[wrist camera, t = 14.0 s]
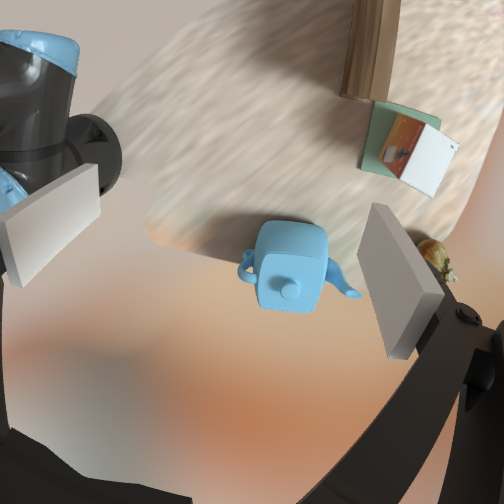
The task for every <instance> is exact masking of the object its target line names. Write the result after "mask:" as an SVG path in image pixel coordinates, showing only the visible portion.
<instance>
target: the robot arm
mask: <svg viewBox="0 0 504 504" xmlns="http://www.w3.org/2000/svg"><path fill="white" fill-rule="evenodd" d="M79 54H80V48H79V45H78V44H77V43H76V42H75V41H74V40H72V39H70V38H67V37H63V36H59V35H54V34H49V33H43V32H35V31H21V30H1V31H0V504H193V502H192V498H190V497H186V496H181V495H177V494H173V493H169V492H165V491H161V490H158V489H154V488H151V487H147V486H144V485H140V484H132V483H122V482H114V481H105V480H99V479H92V478H87V477H84V476H82V475H81V474H79V473H78V472H77V471H75V470H74V469H73V468H71V467H70V466H69V465H68V464H66V463H65V462H64V461H63V460H62V459H60V458H59V457H58V456H57V455H55V454H54V453H53V452H52V451H51V450H50V449H48V448H47V447H46V446H44V445H43V444H41V443H39V442H37V441H35V440H33V439H31V438H29V437H28V436H26V435H24V434H22V433H21V432H19V431H17V430H15V429H14V428H11V429H10V427H9V424H8V419H7V412H6V404H5V394H4V383H3V370H2V333H1V332H2V304H3V288H4V283H3V279H2V275H3V273H5V272H6V271H7V274H8V277H9V280H10V283H11V284H12V285H15V286H18V287H21V288H24V287H25V286H26V285H27V284H28V283H29V281H30V280H31V279H32V278H33V277H34V276H35V275H36V274H37V273H38V272H39V271H40V270H41V269H42V268H43V267H44V266H45V265H46V264H47V263H48V262H49V261H50V260H51V259H52V258H53V257H55V256H56V255H57V254H58V253H59V252H60V251H61V250H62V249H63V248H64V247H65V246H66V245H67V244H68V243H69V242H71V240H73V239H74V238H75V237H76V236H77V235H78V234H79V233H80V232H82V231H83V229H85V228H86V227H87V226H88V225H89V224H90V223H92V222H93V221H94V220H95V219H96V218H98V217H99V216H100V215H101V210H100V197H101V196H102V195H104V194H105V193H106V192H108V191H109V190H110V189H111V188H112V187H113V186H114V184H115V183H116V181H117V179H118V177H119V174H120V171H121V165H122V153H121V147H120V144H119V141H118V138H117V136H116V134H115V132H114V131H113V129H112V128H111V127H110V126H109V125H108V123H106V122H105V121H104V120H103V119H101V118H99V117H97V116H95V115H91V114H80V115H76V116H72V117H69V112H70V106H71V100H72V94H73V88H74V84H75V79H76V78H77V73H76V70H77V65H78V59H79ZM357 256H358V259H359V262H360V265H361V268H362V271H363V274H364V278H365V281H366V284H367V287H368V290H369V293H370V297H371V300H372V303H373V306H374V310H375V313H376V316H377V320H378V323H379V327H380V331H381V334H382V338H383V342H384V345H385V349H386V353H387V357H388V358H389V359H403V360H408V358H409V357H410V355H411V354H412V352H413V350H414V349H415V347H416V349H417V352H418V354H419V357H418V359H417V360H416V361H415V363H414V365H413V366H412V367H411V369H410V370H409V372H408V373H407V375H406V376H405V377H404V379H403V381H402V382H401V384H400V385H399V387H398V388H397V389H396V391H395V392H394V394H393V395H392V396H391V398H390V399H389V401H388V402H387V403H386V405H385V406H384V407H383V409H382V410H381V411H380V413H379V414H378V415H377V416H376V418H375V419H374V420H373V422H372V423H371V424H370V425H369V427H368V428H367V429H366V430H365V431H364V433H363V434H362V435H361V437H359V439H358V440H357V441H356V442H355V443H354V445H353V446H352V447H351V448H350V449H349V450H348V451H347V453H346V454H345V455H344V456H343V457H342V458H341V459H340V460H339V461H338V463H337V464H336V465H335V466H334V467H333V468H332V469H331V470H330V471H329V472H328V473H327V474H326V475H325V476H324V477H323V478H322V479H321V480H320V482H318V483H317V484H316V485H315V486H314V487H313V488H312V489H311V490H310V491H309V492H308V493H307V494H306V495H305V496H304V497H303V498H302V499H301V500H300V501H299V502H298V503H296V504H398V503H399V502H400V500H401V499H402V497H403V496H404V494H405V493H406V491H407V490H408V488H409V487H410V485H411V483H412V482H413V480H414V479H415V477H416V475H417V474H418V472H419V471H420V469H421V467H422V466H423V464H424V462H425V460H426V458H427V457H428V455H429V453H430V451H431V449H432V448H433V446H434V444H435V442H436V440H437V438H438V436H439V434H440V432H441V430H442V428H443V426H444V424H445V422H446V420H447V418H448V416H449V414H450V411H451V409H452V407H453V405H454V403H455V400H456V398H457V396H458V393H459V391H460V395H459V404H458V411H457V419H456V425H455V431H454V436H453V442H452V447H451V452H450V457H449V461H448V466H447V470H446V475H445V478H444V482H443V486H442V490H441V493H440V497H439V501H438V504H504V320H503V321H502V322H501V323H500V324H499V326H498V327H497V329H496V330H492V329H490V328H487V327H485V326H482V320H481V318H480V316H479V315H478V313H477V312H476V311H475V310H474V309H472V308H471V307H470V306H468V305H466V304H464V303H459V302H457V301H456V299H455V298H454V296H453V294H452V292H451V291H450V289H449V288H448V286H447V285H446V283H445V281H444V279H443V278H441V277H442V276H441V275H440V273H439V271H438V270H437V268H436V267H435V266H434V265H432V264H431V263H430V262H429V261H428V260H424V259H423V257H422V255H421V254H420V252H419V251H418V249H417V248H416V246H415V245H414V243H413V242H412V240H411V239H410V237H409V236H408V234H407V233H406V231H405V230H404V228H403V227H402V225H401V224H400V222H399V221H398V219H397V218H396V217H395V215H394V214H393V212H392V211H391V210H390V208H389V207H388V206H387V205H383V204H378V203H374V202H373V203H372V206H371V210H370V213H369V217H368V220H367V223H366V227H365V230H364V233H363V237H362V240H361V243H360V246H359V249H358V252H357Z"/></svg>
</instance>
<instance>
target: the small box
mask: <svg viewBox="0 0 504 504" xmlns="http://www.w3.org/2000/svg"><path fill="white" fill-rule="evenodd" d="M458 147H459V144H458V143H457V142H455V141H454V140H452V139H451V138H449V137H448V136H446V135H445V134H443V133H442V132H440V131H439V130H437V129H435V128H434V127H432V126H431V125H429V124H427V123H426V122H423V121H421V120H418V119H415V118H413V117H410V116H407V115H405V114H402V113H399V112H398V113H397V116H396V118H395V121H394V123H393V125H392V127H391V130H390V132H389V134H388V136H387V138H386V140H385V142H384V144H383V146H382V149H381V151H380V153H379V155H378V157H377V159H378V160H379V161H380V162H381V163H382V164H383V165H384V166H385V167H386V168H387V169H388V170H390V171H391V172H392V173H393V174H394V175H395V176H396V177H397V178H398V179H399V180H400V181H402V182H404V183H406V184H408V185H410V186H411V187H413V188H415V189H417V190H419V191H420V192H422V193H424V194H426V195H427V196H429V197H431V198H433V196H434V194H435V192H436V190H437V188H438V186H439V184H440V182H441V180H442V178H443V176H444V174H445V172H446V170H447V168H448V166H449V164H450V162H451V160H452V158H453V156H454V154H455V152H456V151H457V149H458Z"/></svg>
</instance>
